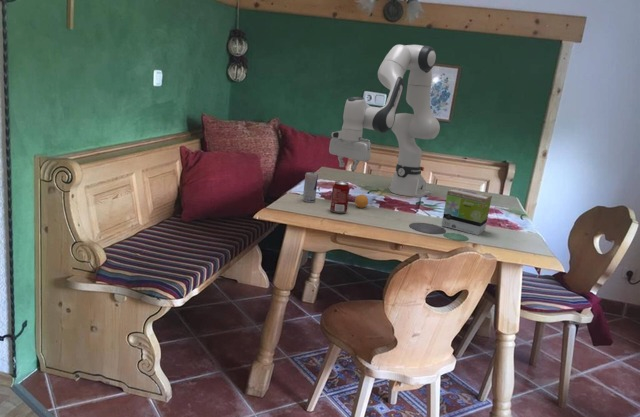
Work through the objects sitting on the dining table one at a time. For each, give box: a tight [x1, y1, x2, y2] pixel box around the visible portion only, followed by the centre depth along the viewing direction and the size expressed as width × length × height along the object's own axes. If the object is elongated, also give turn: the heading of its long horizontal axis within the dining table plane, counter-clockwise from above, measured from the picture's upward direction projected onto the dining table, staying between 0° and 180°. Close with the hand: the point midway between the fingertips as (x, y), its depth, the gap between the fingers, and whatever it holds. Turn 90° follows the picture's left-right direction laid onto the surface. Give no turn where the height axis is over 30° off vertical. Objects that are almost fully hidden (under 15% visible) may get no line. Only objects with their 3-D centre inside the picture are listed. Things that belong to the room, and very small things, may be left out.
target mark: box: [408, 222, 447, 235], centre depth 199 cm, size 14×14×1 cm
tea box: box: [441, 187, 493, 236], centre depth 203 cm, size 15×10×15 cm, turn 58°
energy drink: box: [302, 172, 319, 203], centre depth 221 cm, size 5×5×12 cm
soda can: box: [329, 180, 351, 214], centre depth 208 cm, size 7×7×12 cm
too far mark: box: [443, 232, 469, 242], centre depth 192 cm, size 9×9×1 cm
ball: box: [354, 194, 369, 209], centre depth 220 cm, size 6×6×6 cm
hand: (347, 168), depth 223 cm, fingers open, 5 cm apart
